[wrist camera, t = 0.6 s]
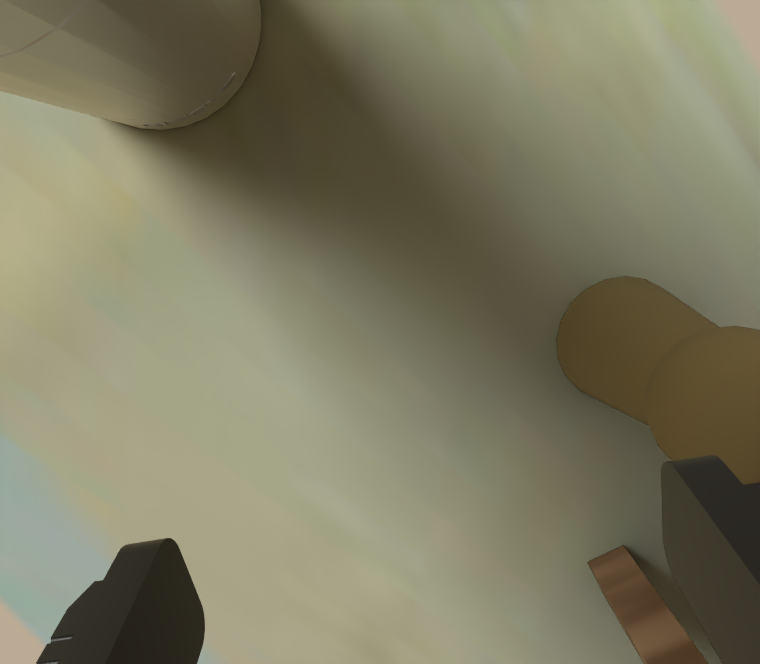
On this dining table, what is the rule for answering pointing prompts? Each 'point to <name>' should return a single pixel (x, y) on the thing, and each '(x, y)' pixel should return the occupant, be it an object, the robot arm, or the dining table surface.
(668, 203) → the dining table surface
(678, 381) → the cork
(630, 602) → the walnut shelf
